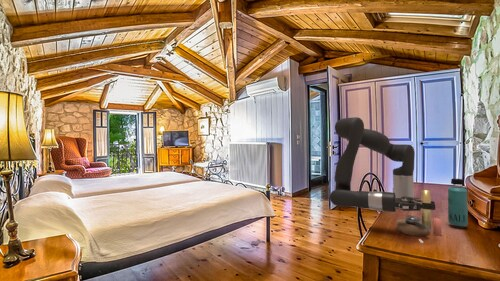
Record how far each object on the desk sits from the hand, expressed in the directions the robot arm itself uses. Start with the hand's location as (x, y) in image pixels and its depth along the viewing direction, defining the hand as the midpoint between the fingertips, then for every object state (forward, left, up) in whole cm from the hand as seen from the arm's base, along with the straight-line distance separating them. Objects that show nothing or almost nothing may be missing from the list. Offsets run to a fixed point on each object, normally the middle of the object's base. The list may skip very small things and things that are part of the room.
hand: (434, 205), depth 92 cm
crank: (-6, -2, -9) cm, 11 cm away
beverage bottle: (-11, +18, -13) cm, 25 cm away
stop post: (-5, +4, -13) cm, 14 cm away
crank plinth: (-9, -2, -13) cm, 16 cm away
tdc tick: (+1, -6, -13) cm, 14 cm away
